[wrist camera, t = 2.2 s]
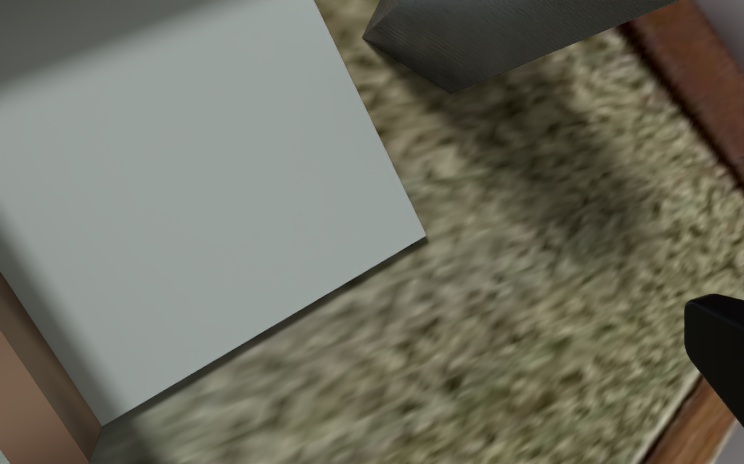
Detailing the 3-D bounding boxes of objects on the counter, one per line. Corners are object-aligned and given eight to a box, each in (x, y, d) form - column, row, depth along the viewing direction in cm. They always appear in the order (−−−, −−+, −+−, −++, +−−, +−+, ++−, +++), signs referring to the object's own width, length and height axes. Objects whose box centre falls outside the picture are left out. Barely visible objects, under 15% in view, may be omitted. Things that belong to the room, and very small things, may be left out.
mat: (421, 234, 21) (426, 235, 21) (57, 448, 17) (54, 454, 17) (244, -136, 18) (245, -144, 18) (-233, 23, 15) (-244, 18, 14)
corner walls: (421, 234, 21) (459, 239, 18) (57, 448, 17) (33, 496, 15) (244, -136, 18) (255, -199, 16) (-233, 23, 15) (-333, -21, 12)
